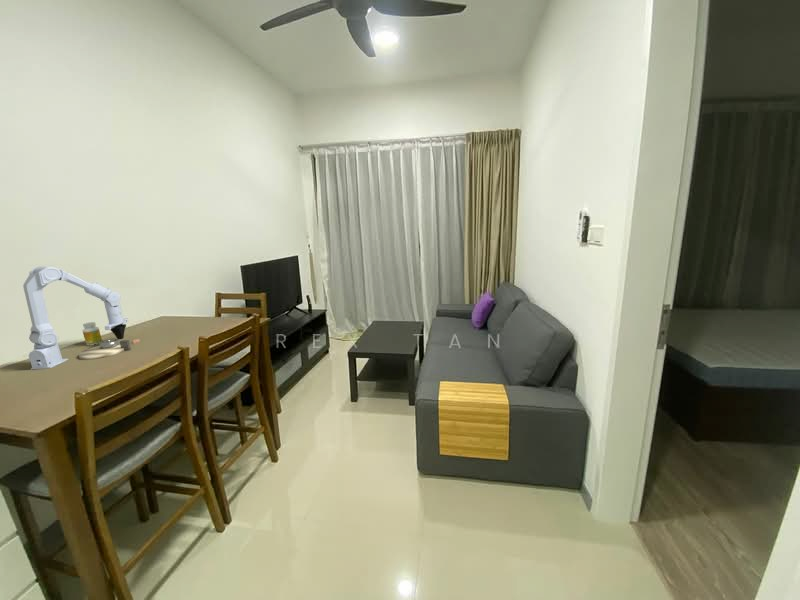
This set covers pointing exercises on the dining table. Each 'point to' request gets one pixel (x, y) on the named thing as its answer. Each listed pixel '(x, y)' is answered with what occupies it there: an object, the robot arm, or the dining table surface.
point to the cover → (109, 344)
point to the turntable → (104, 351)
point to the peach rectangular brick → (135, 340)
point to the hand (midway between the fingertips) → (120, 338)
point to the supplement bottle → (91, 333)
